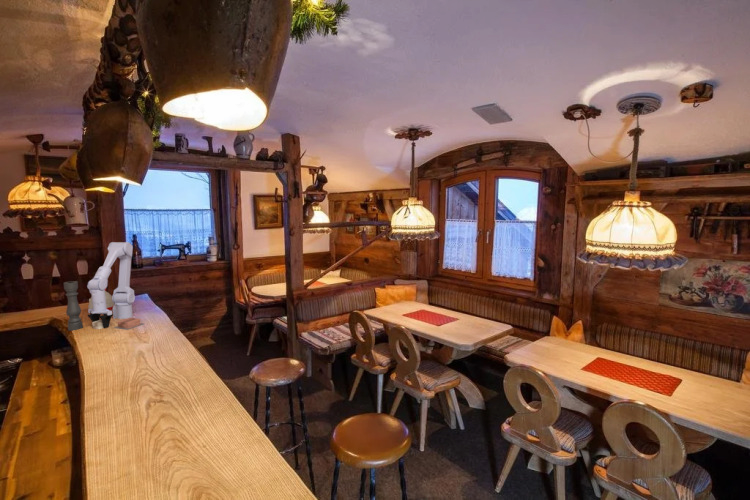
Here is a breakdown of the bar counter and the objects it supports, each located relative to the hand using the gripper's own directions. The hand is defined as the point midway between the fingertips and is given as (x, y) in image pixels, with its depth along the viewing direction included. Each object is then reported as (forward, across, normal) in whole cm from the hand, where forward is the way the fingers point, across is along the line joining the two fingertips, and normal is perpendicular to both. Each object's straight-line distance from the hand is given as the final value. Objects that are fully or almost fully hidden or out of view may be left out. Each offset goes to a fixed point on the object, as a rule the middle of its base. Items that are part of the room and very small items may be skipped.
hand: (101, 327), depth 195 cm
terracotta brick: (0, +12, +6) cm, 13 cm away
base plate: (+1, +12, +6) cm, 13 cm away
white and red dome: (+2, -40, +29) cm, 49 cm away
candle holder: (+2, -15, -3) cm, 15 cm away
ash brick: (+2, 0, 0) cm, 2 cm away
